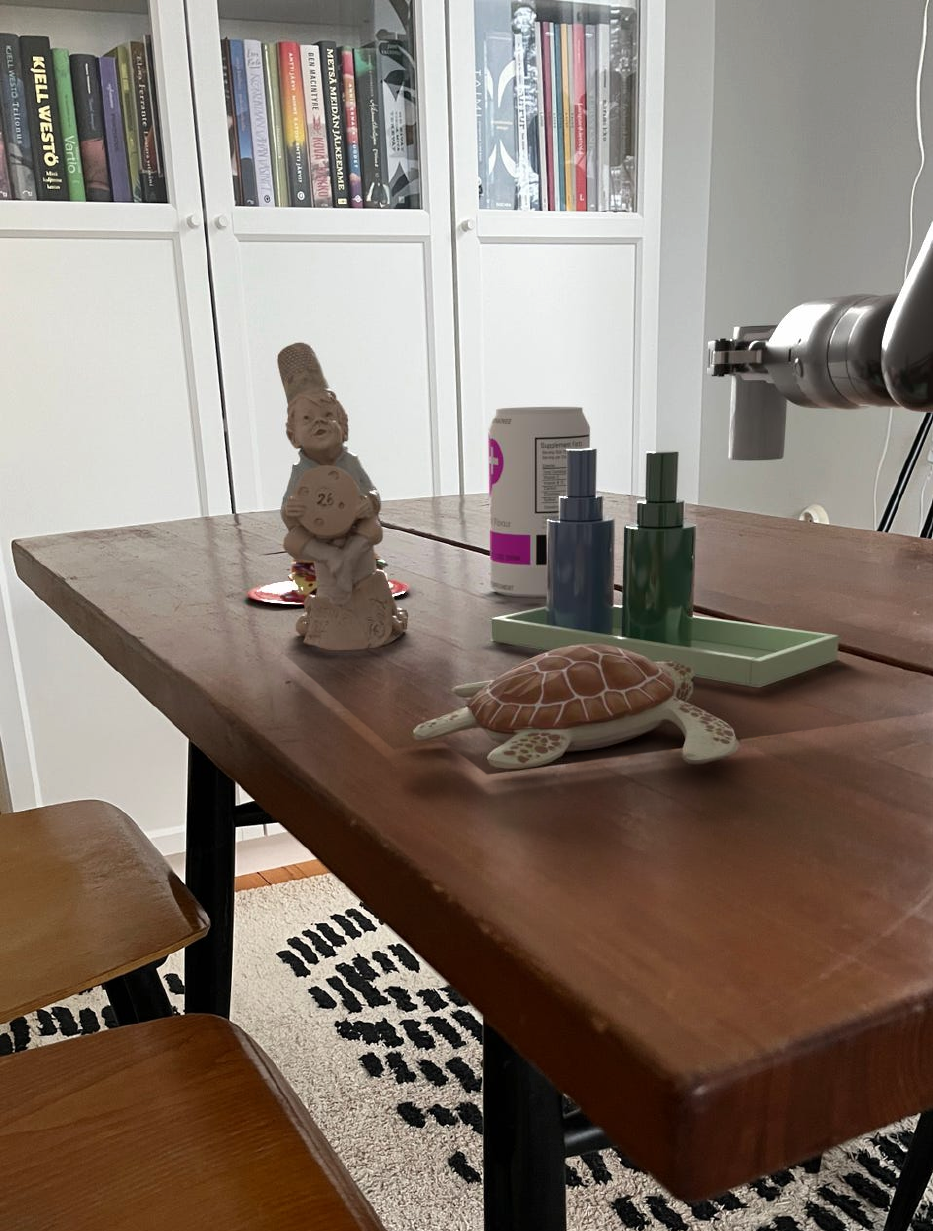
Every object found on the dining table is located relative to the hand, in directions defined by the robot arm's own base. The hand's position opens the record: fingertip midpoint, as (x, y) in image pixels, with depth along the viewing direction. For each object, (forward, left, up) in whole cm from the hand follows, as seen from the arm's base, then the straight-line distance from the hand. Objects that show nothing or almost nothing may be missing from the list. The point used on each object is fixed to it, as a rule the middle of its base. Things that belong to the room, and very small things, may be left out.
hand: (747, 357), depth 102 cm
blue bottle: (+24, +18, -18) cm, 35 cm away
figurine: (+38, +11, -19) cm, 44 cm away
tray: (+21, +24, -18) cm, 37 cm away
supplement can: (+18, -1, -19) cm, 26 cm away
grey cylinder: (0, +3, -8) cm, 9 cm away
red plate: (+35, -10, -19) cm, 41 cm away
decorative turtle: (+34, +40, -19) cm, 56 cm away
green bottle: (+21, +24, -18) cm, 37 cm away
